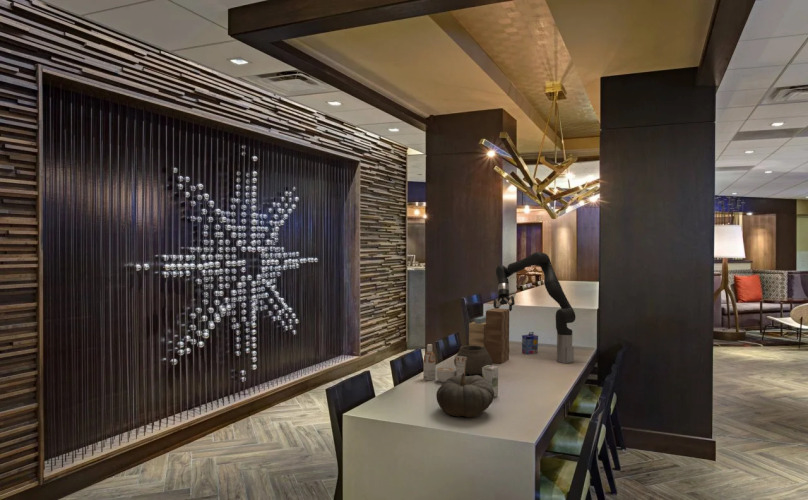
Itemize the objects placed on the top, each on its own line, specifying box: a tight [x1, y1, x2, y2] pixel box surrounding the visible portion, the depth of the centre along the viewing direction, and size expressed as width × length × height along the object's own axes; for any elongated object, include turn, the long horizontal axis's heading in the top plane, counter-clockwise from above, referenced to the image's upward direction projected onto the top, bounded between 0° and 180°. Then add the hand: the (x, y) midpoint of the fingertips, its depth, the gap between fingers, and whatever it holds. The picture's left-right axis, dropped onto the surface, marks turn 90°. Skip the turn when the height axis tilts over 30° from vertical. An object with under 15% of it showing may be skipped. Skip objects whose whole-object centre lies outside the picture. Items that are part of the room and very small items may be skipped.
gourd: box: [436, 373, 495, 418], centre depth 234 cm, size 25×25×17 cm
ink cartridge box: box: [521, 331, 539, 355], centre depth 364 cm, size 10×6×14 cm, turn 115°
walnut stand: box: [485, 307, 510, 365], centre depth 340 cm, size 16×10×32 cm, turn 152°
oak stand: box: [468, 321, 486, 348], centre depth 355 cm, size 18×10×22 cm, turn 152°
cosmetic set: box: [422, 343, 467, 383], centre depth 288 cm, size 25×9×19 cm, turn 60°
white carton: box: [481, 364, 499, 398], centre depth 260 cm, size 6×6×14 cm
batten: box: [474, 314, 486, 324], centre depth 360 cm, size 26×4×3 cm, turn 151°
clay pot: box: [453, 344, 493, 376], centre depth 305 cm, size 22×21×15 cm
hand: (504, 311), depth 362 cm, fingers open, 8 cm apart
